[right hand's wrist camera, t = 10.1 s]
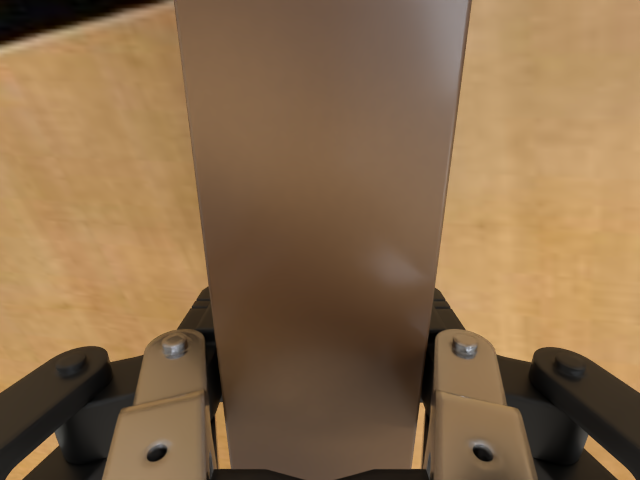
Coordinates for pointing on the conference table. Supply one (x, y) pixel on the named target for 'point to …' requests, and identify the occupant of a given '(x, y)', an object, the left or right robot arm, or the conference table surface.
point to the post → (322, 216)
